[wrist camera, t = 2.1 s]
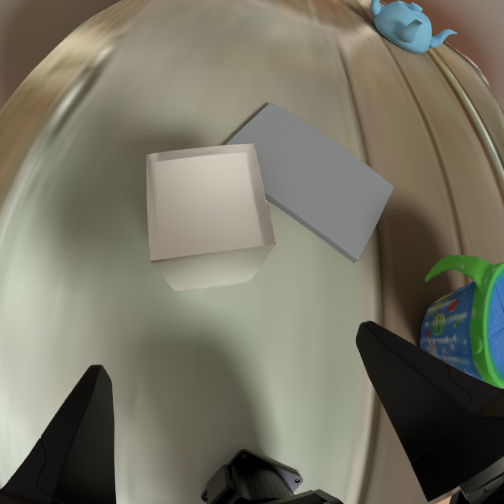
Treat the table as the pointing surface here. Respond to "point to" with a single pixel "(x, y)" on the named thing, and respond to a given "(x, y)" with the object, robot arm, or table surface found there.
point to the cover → (207, 216)
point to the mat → (316, 179)
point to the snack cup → (469, 320)
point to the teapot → (406, 26)
